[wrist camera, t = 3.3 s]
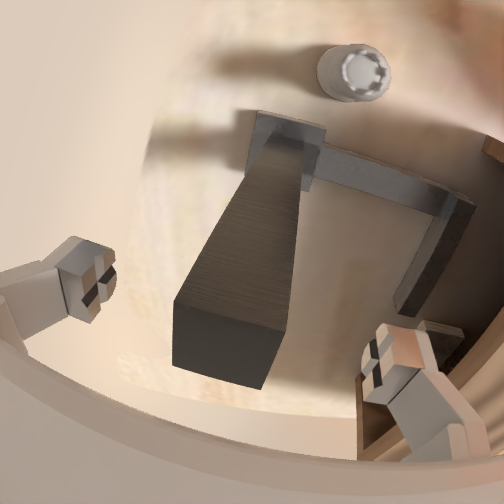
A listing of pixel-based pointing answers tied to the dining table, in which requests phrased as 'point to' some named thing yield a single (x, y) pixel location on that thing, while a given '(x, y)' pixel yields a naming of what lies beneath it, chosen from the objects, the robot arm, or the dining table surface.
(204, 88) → the dining table surface
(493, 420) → the low cabinet
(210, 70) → the dining table surface
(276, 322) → the hook tool
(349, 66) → the rook chess piece
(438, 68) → the dining table surface
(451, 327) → the block
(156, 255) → the dining table surface
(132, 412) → the robot arm
